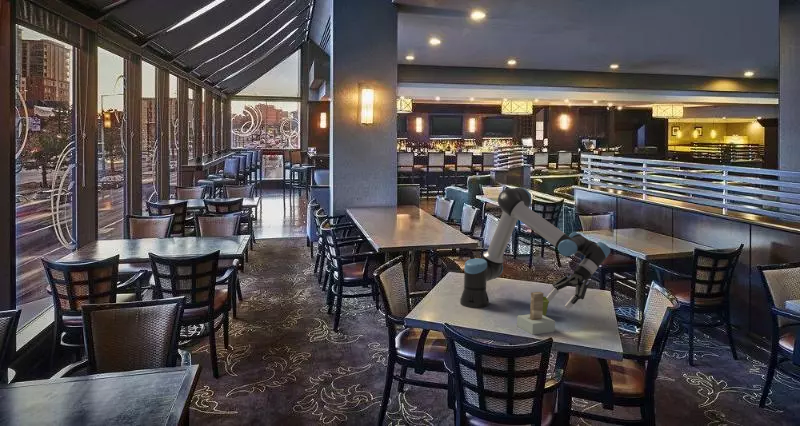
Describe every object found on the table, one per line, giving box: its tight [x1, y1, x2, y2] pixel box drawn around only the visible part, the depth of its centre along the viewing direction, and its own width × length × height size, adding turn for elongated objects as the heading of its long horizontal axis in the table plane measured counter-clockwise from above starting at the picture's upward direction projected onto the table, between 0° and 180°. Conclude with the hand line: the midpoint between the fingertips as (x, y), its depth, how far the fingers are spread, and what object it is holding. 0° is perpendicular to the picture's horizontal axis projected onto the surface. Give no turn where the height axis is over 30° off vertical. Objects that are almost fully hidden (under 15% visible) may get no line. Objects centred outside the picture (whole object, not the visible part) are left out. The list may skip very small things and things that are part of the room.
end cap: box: [516, 313, 556, 335], centre depth 245 cm, size 12×12×5 cm
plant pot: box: [542, 295, 550, 317], centre depth 265 cm, size 9×9×9 cm
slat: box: [529, 291, 544, 320], centre depth 244 cm, size 2×5×16 cm, turn 113°
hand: (557, 303), depth 249 cm, fingers open, 13 cm apart
